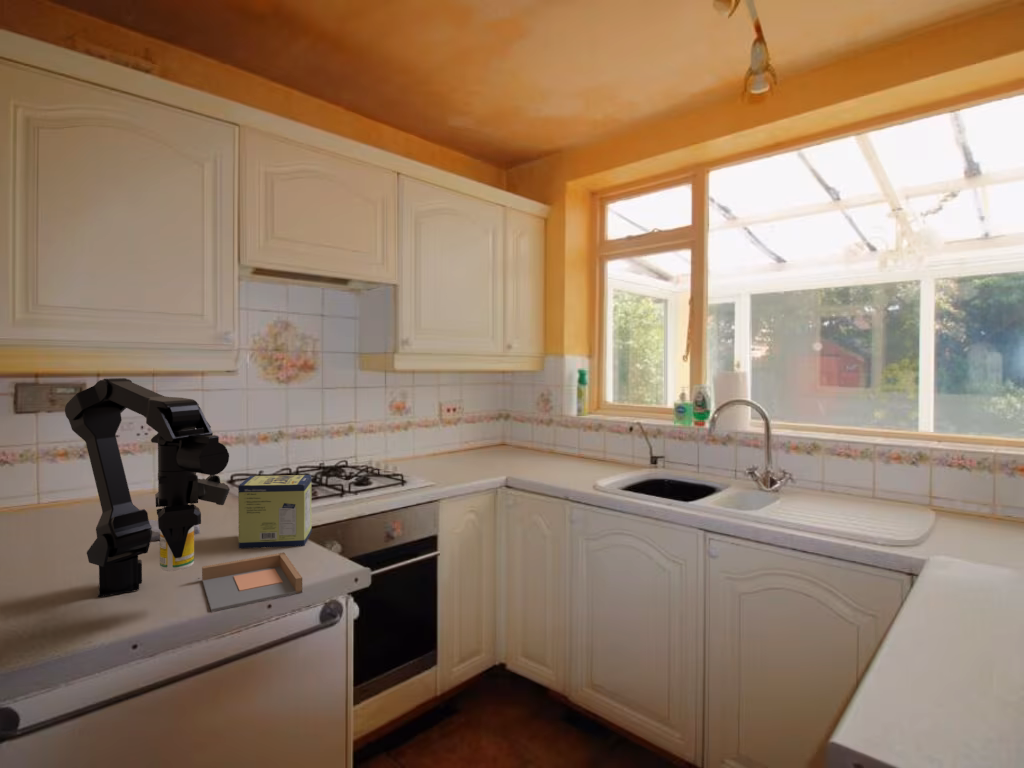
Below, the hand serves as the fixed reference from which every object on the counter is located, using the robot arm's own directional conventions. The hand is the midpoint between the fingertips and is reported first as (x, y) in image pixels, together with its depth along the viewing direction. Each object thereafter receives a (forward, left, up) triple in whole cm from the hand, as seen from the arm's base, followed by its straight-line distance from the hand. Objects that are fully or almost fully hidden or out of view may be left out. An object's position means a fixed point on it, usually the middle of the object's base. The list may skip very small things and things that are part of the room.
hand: (177, 552), depth 101 cm
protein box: (+23, +29, -11) cm, 39 cm away
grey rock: (+2, +47, -11) cm, 48 cm away
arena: (+13, +3, -10) cm, 17 cm away
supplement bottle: (0, 0, -3) cm, 3 cm away
